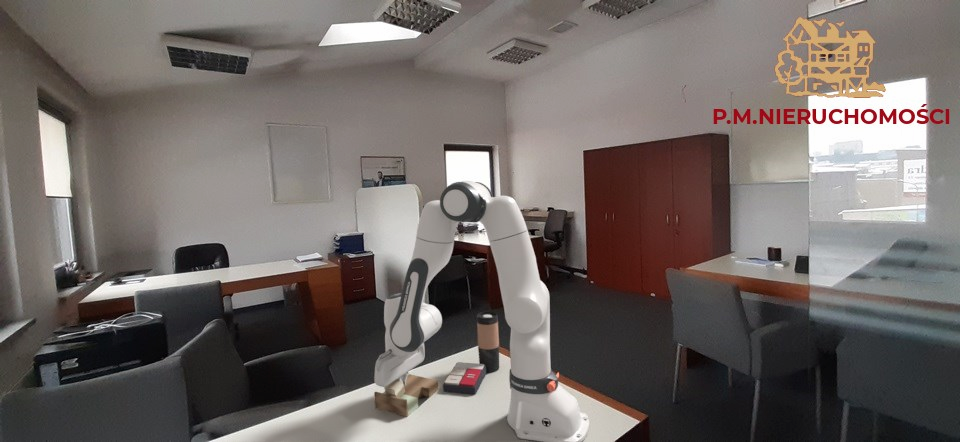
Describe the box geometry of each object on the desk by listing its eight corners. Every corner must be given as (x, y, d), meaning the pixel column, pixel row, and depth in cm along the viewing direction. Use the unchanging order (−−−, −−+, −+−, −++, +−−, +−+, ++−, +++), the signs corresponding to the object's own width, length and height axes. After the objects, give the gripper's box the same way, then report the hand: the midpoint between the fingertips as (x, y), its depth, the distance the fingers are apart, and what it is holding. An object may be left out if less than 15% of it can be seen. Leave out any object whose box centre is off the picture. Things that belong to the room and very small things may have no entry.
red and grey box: (442, 382, 127) (456, 360, 141) (443, 394, 127) (457, 371, 142) (474, 385, 124) (486, 362, 138) (475, 397, 124) (486, 373, 139)
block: (405, 391, 121) (402, 380, 119) (397, 400, 117) (394, 389, 116) (395, 388, 123) (392, 378, 121) (387, 397, 119) (384, 386, 118)
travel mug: (504, 367, 142) (502, 314, 141) (490, 375, 137) (487, 319, 135) (488, 361, 148) (486, 310, 146) (474, 368, 142) (472, 315, 141)
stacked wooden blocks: (438, 389, 129) (438, 374, 128) (406, 417, 114) (405, 400, 113) (409, 382, 134) (408, 368, 134) (375, 408, 119) (374, 392, 119)
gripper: (384, 359, 110) (386, 405, 112) (427, 334, 128) (428, 375, 130) (368, 355, 113) (370, 400, 115) (412, 331, 131) (413, 371, 133)
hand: (401, 386), depth 122 cm, fingers closed
